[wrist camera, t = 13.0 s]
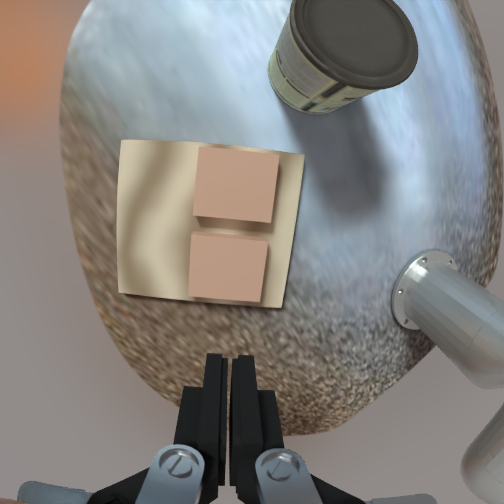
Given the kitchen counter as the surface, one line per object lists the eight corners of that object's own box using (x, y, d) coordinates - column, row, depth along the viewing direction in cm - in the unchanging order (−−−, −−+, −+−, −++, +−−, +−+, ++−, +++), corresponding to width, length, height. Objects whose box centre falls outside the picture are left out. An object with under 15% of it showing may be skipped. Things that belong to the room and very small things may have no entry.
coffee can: (310, 23, 26) (351, -39, 13) (368, 83, 29) (438, 52, 15) (247, 68, 28) (259, 9, 14) (310, 132, 30) (365, 116, 17)
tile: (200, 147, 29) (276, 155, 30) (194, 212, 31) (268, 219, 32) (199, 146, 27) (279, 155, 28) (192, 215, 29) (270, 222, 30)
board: (302, 155, 31) (304, 155, 30) (279, 303, 36) (281, 307, 35) (125, 140, 29) (121, 139, 28) (121, 288, 34) (118, 292, 33)
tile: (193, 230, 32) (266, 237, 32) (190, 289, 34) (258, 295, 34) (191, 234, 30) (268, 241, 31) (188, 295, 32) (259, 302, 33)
